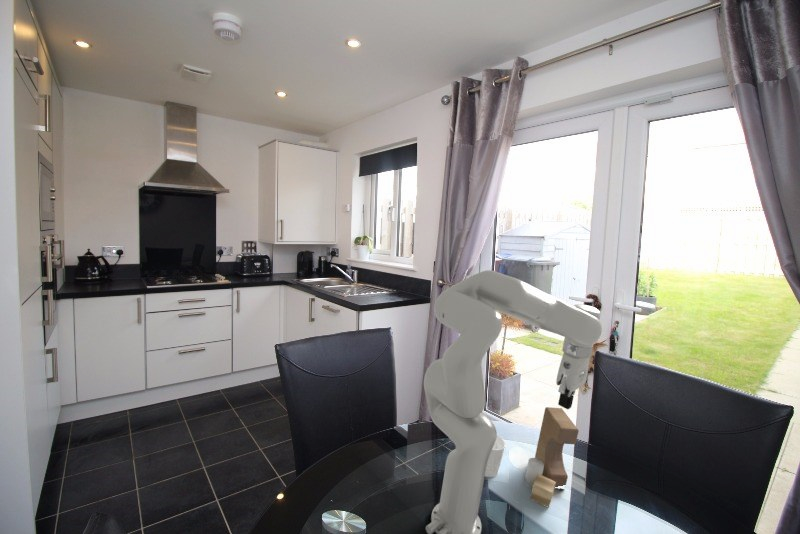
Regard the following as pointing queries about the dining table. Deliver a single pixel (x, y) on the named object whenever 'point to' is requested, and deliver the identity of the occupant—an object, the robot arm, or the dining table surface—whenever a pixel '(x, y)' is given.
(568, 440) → the decorative block
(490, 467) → the white cup
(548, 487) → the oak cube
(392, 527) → the dining table surface
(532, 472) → the grey tub
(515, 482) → the dining table surface
